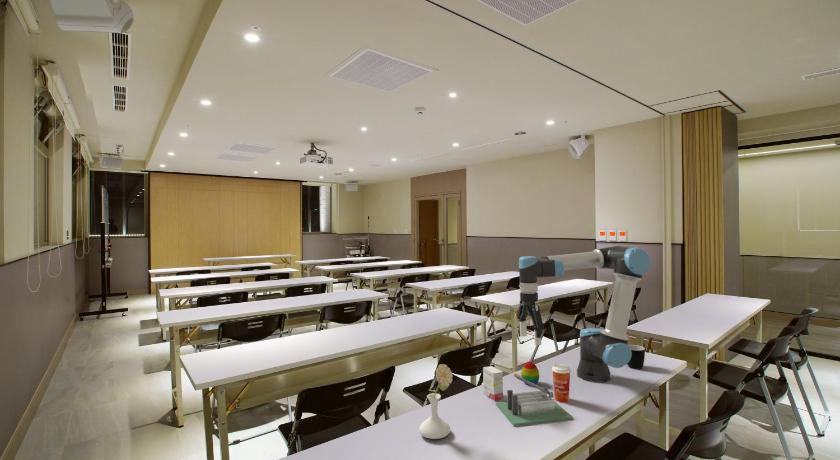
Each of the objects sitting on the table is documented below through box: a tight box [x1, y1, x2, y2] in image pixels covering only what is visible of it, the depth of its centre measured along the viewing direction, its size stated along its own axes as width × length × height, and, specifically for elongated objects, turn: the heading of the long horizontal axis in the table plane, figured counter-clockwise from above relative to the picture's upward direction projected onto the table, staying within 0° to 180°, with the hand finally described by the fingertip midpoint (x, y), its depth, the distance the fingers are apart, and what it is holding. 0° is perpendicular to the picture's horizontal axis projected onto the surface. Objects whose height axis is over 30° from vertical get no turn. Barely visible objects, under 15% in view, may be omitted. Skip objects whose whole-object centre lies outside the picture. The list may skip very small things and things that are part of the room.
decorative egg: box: [520, 361, 540, 386], centre depth 186 cm, size 8×8×10 cm
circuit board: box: [495, 400, 573, 427], centre depth 159 cm, size 24×18×1 cm
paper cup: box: [551, 363, 572, 403], centre depth 169 cm, size 8×8×14 cm
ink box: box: [482, 365, 504, 402], centre depth 173 cm, size 9×5×12 cm, turn 24°
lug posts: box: [506, 389, 518, 415], centre depth 157 cm, size 2×5×8 cm, turn 11°
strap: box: [513, 372, 550, 396], centre depth 159 cm, size 17×3×1 cm, turn 101°
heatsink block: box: [513, 387, 555, 417], centre depth 159 cm, size 15×10×7 cm
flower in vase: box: [418, 363, 454, 440], centre depth 144 cm, size 13×11×25 cm
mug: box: [626, 344, 646, 370], centre depth 204 cm, size 12×9×10 cm
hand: (530, 340), depth 173 cm, fingers open, 13 cm apart
